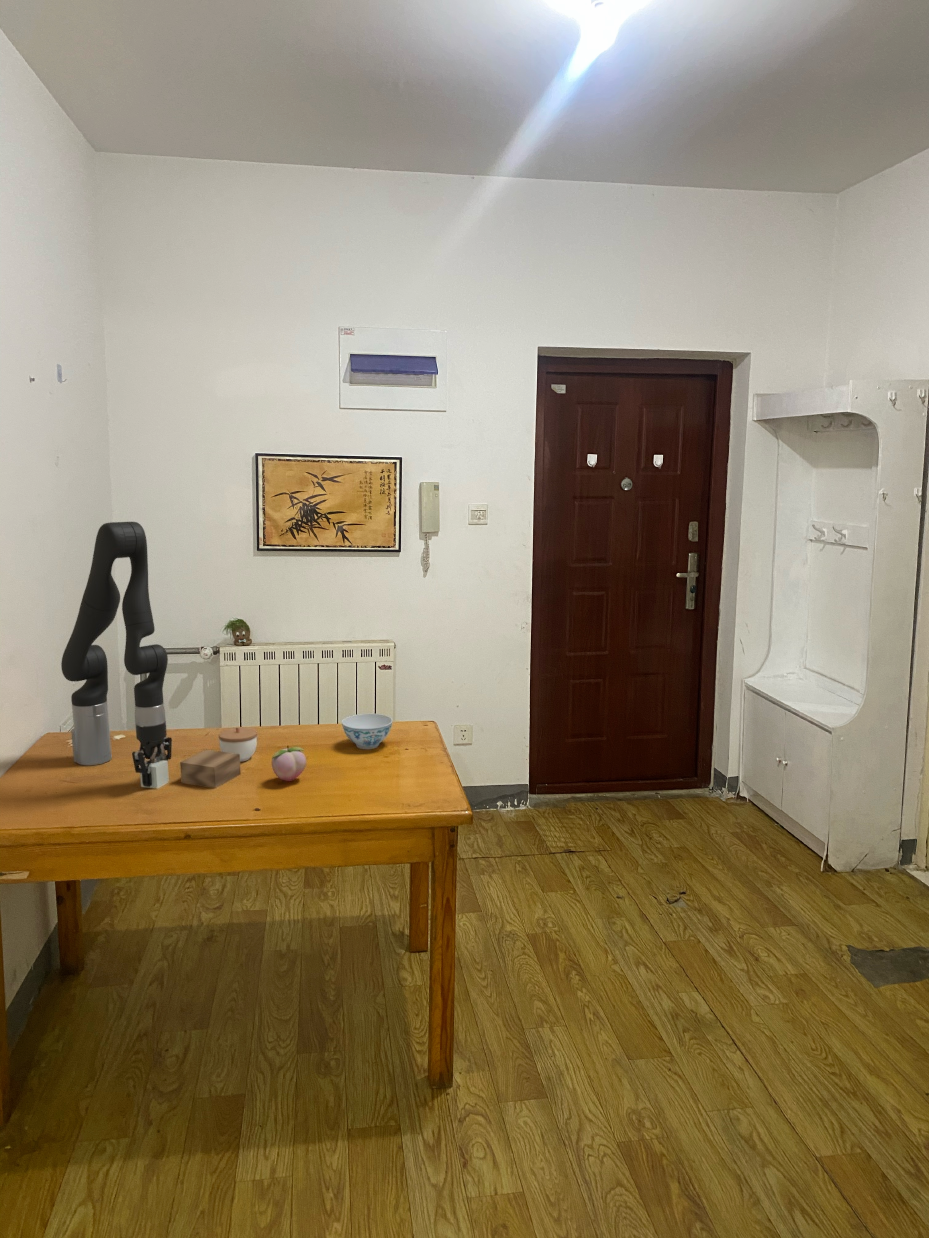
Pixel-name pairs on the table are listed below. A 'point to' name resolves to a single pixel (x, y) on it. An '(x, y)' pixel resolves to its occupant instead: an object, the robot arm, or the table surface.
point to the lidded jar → (239, 741)
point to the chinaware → (367, 729)
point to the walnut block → (210, 768)
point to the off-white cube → (158, 774)
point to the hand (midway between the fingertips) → (154, 781)
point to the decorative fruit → (288, 763)
